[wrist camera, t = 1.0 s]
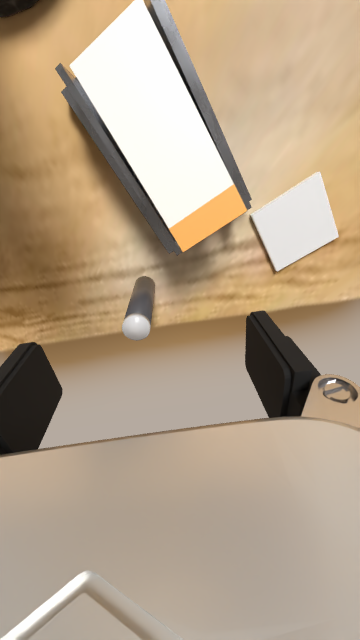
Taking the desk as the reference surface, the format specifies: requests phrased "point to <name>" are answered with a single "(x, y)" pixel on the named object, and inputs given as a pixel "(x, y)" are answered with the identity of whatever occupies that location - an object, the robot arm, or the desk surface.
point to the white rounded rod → (139, 310)
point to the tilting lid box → (111, 149)
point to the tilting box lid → (158, 126)
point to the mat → (296, 222)
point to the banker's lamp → (14, 6)
